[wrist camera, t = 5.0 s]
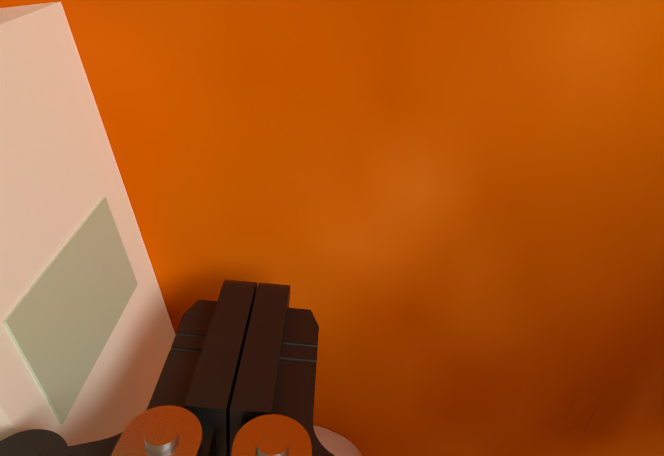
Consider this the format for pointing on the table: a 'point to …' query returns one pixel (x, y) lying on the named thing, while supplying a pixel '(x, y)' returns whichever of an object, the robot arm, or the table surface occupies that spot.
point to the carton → (67, 249)
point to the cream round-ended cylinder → (336, 443)
